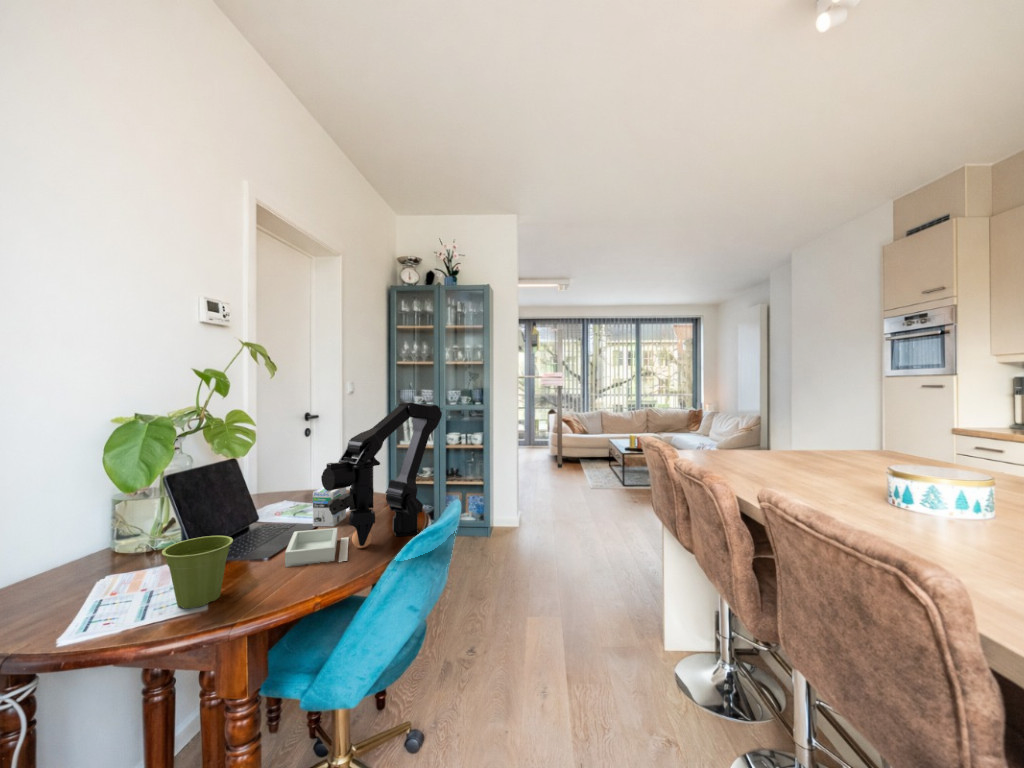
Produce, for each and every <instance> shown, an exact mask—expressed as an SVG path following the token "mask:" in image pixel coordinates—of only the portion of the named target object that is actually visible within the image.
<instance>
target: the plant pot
mask: <svg viewBox="0 0 1024 768" xmlns="http://www.w3.org/2000/svg"><path fill="white" fill-rule="evenodd" d="M233 542H234V539H233V538H232V537H230V536H227V535H209V536H208V535H207V536H201V537H200V536H199V537H195V538H190V539H186V540H182V541H178V542H176V543H173V544H170V545H168V546H166V547H165V548H163V549H162V550H161V555H163V557H165V560H166V561H165V562H166V565H167V567H168V569H169V574H170V576H171V581H172V587H173V591H174V592H173V593H174V597H175V601H176V605H177V606H178V607H181V608H183V607H184V608H183V609H193V608H194V609H195V608H199V607H203V606H205V605H208V603H210V602H215V601H216V600H218V599H219V598H220V597H221V593H222V587H223V580H224V575H225V570H226V564H227V558H228V555H229V553H230V547H231V545H232V544H233Z"/></svg>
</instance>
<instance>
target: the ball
mask: <svg viewBox="0 0 1024 768" xmlns="http://www.w3.org/2000/svg"><path fill="white" fill-rule="evenodd" d="M372 537H373V536H372V533H371V532H370V533H369V535H368V537H367V540H366V542H365V544H364V546H360V544H359V540H358V535H357V531H356V530H355V531H354V533H352V537H351V542H352V544H353V546H354V547H356V548H358V549H364V548H366V547H368V546H369V545H370V544H371V542H372Z"/></svg>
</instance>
